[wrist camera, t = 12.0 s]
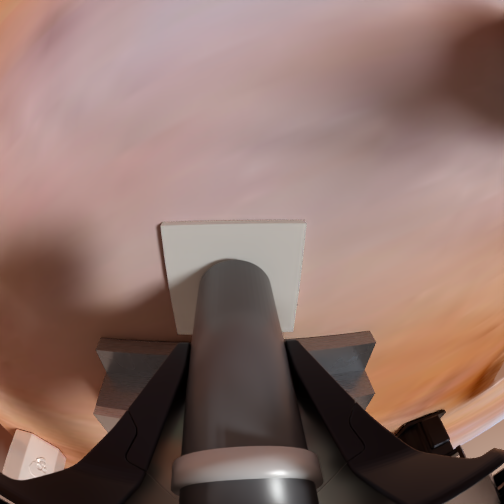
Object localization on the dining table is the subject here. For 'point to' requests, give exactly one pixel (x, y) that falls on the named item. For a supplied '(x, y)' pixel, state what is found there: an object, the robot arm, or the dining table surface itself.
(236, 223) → the pad
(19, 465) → the jar
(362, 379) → the grey flat framed piece
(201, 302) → the gray capped cylinder
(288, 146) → the dining table surface
